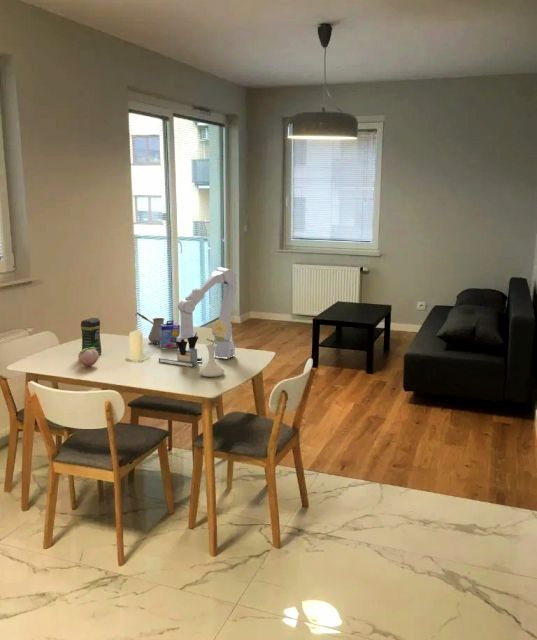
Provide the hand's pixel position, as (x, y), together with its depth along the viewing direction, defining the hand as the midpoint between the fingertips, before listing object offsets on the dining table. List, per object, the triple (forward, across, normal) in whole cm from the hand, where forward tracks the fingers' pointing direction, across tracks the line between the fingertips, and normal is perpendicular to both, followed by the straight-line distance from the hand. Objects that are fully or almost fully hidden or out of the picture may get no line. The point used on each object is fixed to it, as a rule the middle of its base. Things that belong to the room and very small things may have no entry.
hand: (187, 353), depth 292 cm
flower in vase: (+5, -11, -21) cm, 24 cm away
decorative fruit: (+5, -27, +37) cm, 46 cm away
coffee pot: (+5, +27, +41) cm, 50 cm away
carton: (+5, 0, 0) cm, 5 cm away
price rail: (+5, 0, +3) cm, 6 cm away
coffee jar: (+5, -10, +50) cm, 51 cm away
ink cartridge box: (+5, +21, +25) cm, 33 cm away
